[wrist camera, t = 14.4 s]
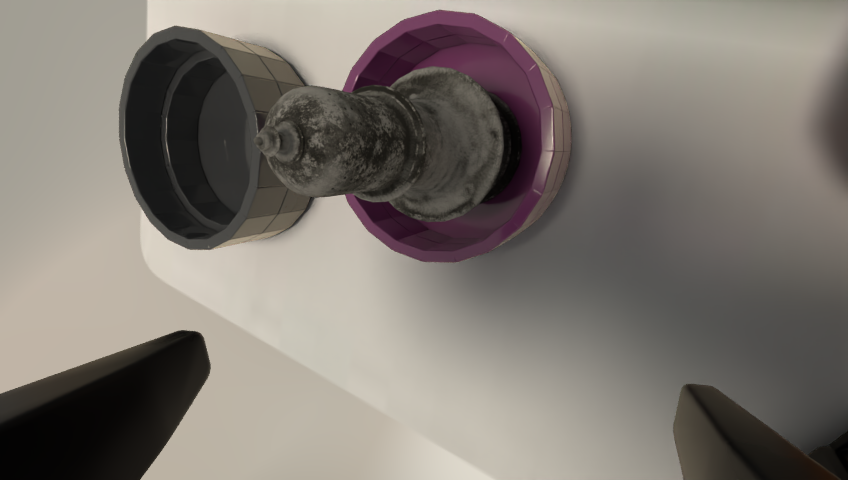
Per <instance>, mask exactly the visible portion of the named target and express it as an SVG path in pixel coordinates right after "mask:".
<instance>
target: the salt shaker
mask: <svg viewBox="0 0 848 480" xmlns="http://www.w3.org/2000/svg"><path fill="white" fill-rule="evenodd" d="M253 141H254V144H255V145H256V146H257V147H258V148H259V149H260V150H261V152H262V153H263V154H264V155H265V156H266V158H267V161H268V164H269V166H270V167H271V169H272V171H273V172H274V174H275V175H276V176H277V177H278V178H279V179H280V180H281V181H282V182H283V184H284V185H285V186H286V187H288V188H289V189H291V190H292V191H294V192H296V193H298V194H302V195H305V196H310V197H329V196H336V195H344V194H354V195H355V196H357V197H359V198H360V199H363V200H367V201H371V202H387V201H388V202H389V203H390V204H391V205H392V206H393V207H394V208H395V209H397V210H398V211H400V212H402V213H404V214H405V215H407V216H409V217H410V218H414V219H417V220H421V221H425V222H445V221H448V220H451V219H454V218H457V217H460V216H463V215H464V214H466V213H467V212H469V211H470V210H471V209H473V208H474V207H476V206H477V205H479V204H480V203H483V202H486V201H489V200H491V199H492V198H494V197H495V196H497V195H498V194H500V193H501V192H502V191H503V190H504V189H505V188H506V186H507V185H508V184H509V183H510V182H511V180H512V179H513V177H514V174H515V172H516V170H517V168H518V166H519V162H520V157H521V152H522V142H521V132H520V129H519V126H518V122H517V119H516V117H515V116H514V114H513V113H512V111H511V110H510V108H509V106H508V105H507V104H506V103H505V102H504V101H502V100H501V99H500V98H499V97H498V96H497V95H495V94H493V93H490V92H488V91H486V90H485V89H484V88H483V87H482V86H481V85H479V84H478V83H477V82H476V81H475V80H474V79H472V78H471V77H470V76H468V75H466V74H464V73H461V72H459V71H457V70H454V69H452V68H446V67H435V66H431V67H426V68H422V69H417V70H414V71H412V72H410V73H408V74H406V75H405V76H403V77H401V78H399V79H398V80H397V81H396V82H395V83H394V84H393V85H391V86H390V87H387V86H380V85H370V86H365V87H360V88H359V89H357V90H355V91H353V92H351V93H349V92H344V91H340V90H335V89H330V88H325V87H318V86H306V87H300V88H296V89H292V90H290V91H289V92H287V93H286V94H284V95H283V96H282V97H281V98H280V99H279V100H278V101H277V102H276V103H275V105H274V106H273V107H272V108H271V110H270V112H269V114H268V116H267V118H266V121H265V125H264V128H262V129H261V131H260V132H259V133H258V134H257V136H256V137H255V138H254V140H253Z"/></svg>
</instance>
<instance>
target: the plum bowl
mask: <svg viewBox="0 0 848 480" xmlns="http://www.w3.org/2000/svg"><path fill="white" fill-rule="evenodd" d="M431 66H435V67H446V68H452V69H454V70H457V71H459V72H461V73H464V74H466V75H468V76H470V77H471V78H472V79H474V80H475V81H476V82H477V83H478V84H479V85H481V86H482V87H483V88H484V89H485V90H486V91H488V92H490V93H493V94H495V95H497V96H498V97H499V98H500V99H501V100H502V101H504V102H505V103H506V104H507V105H508V106H509V108H510V110H511V111H512V113H513V114H514V116H515V117H516V119H517V122H518V126H519V129H520V132H521V142H522V152H521V157H520V162H519V166H518V168H517V170H516V172H515V174H514V177H513V179H512V180H511V182H510V183H509V184H508V185H507V186H506V188H505V189H504V190H503V191H502V192H501V193H500V194H498V195H497V196H495V197H494V198H492V199H491V200H489V201H486V202H483V203H480V204H479V205H477V206H476V207H474V208H473V209H471V210H470V211H469V212H467V213H466V214H464V215H463V216H460V217H457V218H454V219H451V220H448V221H445V222H425V221H421V220H417V219H414V218H410V217H409V216H407V215H405V214H404V213H402V212H400V211H398V210H397V209H395V208H394V207H393V206H392V205H391V204H390V203H389V202H388V201H387V202H371V201H367V200H363V199H360V198H359V197H357V196H355V195H354V194H345V196H346V198H347V201H348V203H349V205H350V207H351V208H352V209H353V211H354V212H355V214H356V215H357V216H358V218H359V219H360V221H361V222H362V224H363V225H364V226H365V228H366V229H367V230H368V231H369V232H370V233H371V234H373V235H374V236H375V237H376V238H378V239H379V240H380V241H382V242H383V243H384V244H385V245H387V246H388V247H389V248H390V249H392V250H393V251H396V252H398V253H401V254H404V255H406V256H409V257H412V258H414V259H417V260H420V261H424V262H447V263H456V262H460V261H463V260H467V259H470V258H473V257H476V256H479V255H482V254H485V253H488V252H490V251H492V250H494V249H495V248H497V247H499V246H501V245H502V244H504V243H506V242H508V241H509V240H511V239H513V238H514V237H516V236H517V235H518V234H520V233H521V232H522V231H524V230H525V229H526V228H528V227H529V226H530V225H532V224H533V223H534V222H535V221H537V220H538V219H539V218H540V217H541V216H542V214H543V213H544V212H545V210H546V209H547V208H548V206H549V205H550V204H551V203H552V201H553V199H554V198H555V196H556V194H557V193H558V191H559V189H560V187H561V184H562V182H563V179H564V177H565V174H566V171H567V167H568V163H569V159H570V152H571V132H572V130H571V122H570V114H569V110H568V107H567V103H566V99H565V97H564V95H563V92H562V90H561V88H560V85H559V84H558V81H557V79H556V77H555V76H554V75H553V74H552V72H551V71H550V70H549V69H548V68H547V66H546V65H545V64H544V63H543V62H542V61H541V60H540V58H539V57H538V56H537V55H536V54H535V53H534V52H533V51H532V50H531V49H530V48H529V47H527V46H526V45H525V44H524V43H523V42H521V41H520V40H519V39H518V38H516V37H515V36H514V35H513V34H512V33H510V32H509V31H507V30H505V29H503V28H502V27H500V26H498V25H496V24H494V23H492V22H490V21H489V20H487V19H485V18H483V17H481V16H479V15H476V14H474V13H465V12H455V11H446V10H439V11H438V10H436V11H433V12H429V13H425V14H422V15H418V16H414V17H411V18H407V19H404V20H402V21H400V22H399V23H398V24H396V25H395V26H393V27H392V28H390V29H389V30H388V31H386V32H385V33H383V34H382V35H380V36H379V37H378V38H376V39H375V40H374V41H373V42H372V43H371V44H370V45H369V47H368V48H367V49H366V51H365V52H364V53H363V54H362V56H361V57H360V58H359V60H358V61H357V62H356V64H355V65H354V66H353V67H352V70H351V71H350V73H349V76H348V78H347V81H346V83H345V86H344V88H343V90H342V91H344V92H349V93H351V92H353V91H355V90H357V89H359V88H360V87H365V86H370V85H380V86H387V87H390V86H391V85H393V84H394V83H395V82H396V81H397V80H398V79H399V78H401V77H403V76H405V75H406V74H408V73H410V72H412V71H414V70H417V69H422V68H426V67H431Z"/></svg>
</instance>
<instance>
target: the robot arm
mask: <svg viewBox="0 0 848 480" xmlns="http://www.w3.org/2000/svg"><path fill="white" fill-rule="evenodd" d="M210 369H211V367H210V360H209V356H208V352H207V349H206V345H205V341H204V337H203V336H202V335H201V333H199V332H196V331H186V330H181V331H176V332H174V333H171V334H168V335H165V336H162V337H160V338H157V339H154V340H151V341H148V342H146V343H143V344H140V345H137V346H134V347H131V348H128V349H126V350H123V351H120V352H117V353H115V354H112V355H109V356H106V357H103V358H100V359H98V360H95V361H92V362H89V363H86V364H83V365H80V366H78V367H75V368H72V369H69V370H66V371H64V372H61V373H58V374H55V375H52V376H49V377H47V378H44V379H41V380H38V381H36V382H32V383H30V384H27V385H24V386H21V387H18V388H15V389H13V390H10V391H7V392H5V393H2V394H0V480H140V479H141V478H142V476H143V475H144V473H145V472H146V471H147V470H148V468H149V467H150V466H151V464H152V463H153V462H154V460H155V459H156V458H157V456H158V455H159V454H160V452H161V451H162V449H163V448H164V446H165V445H166V444H167V442H168V441H169V439H170V437H171V436H172V435H173V433H174V431H175V430H176V428H177V426H178V425H179V423H180V422H181V420H182V419H183V417H184V415H185V414H186V412H187V410H188V409H189V407H190V406H191V404H192V402H193V401H194V399H195V398H196V396H197V394H198V393H199V391H200V389H201V388H202V386H203V385H204V383H205V381H206V380H207V378H208V376H209V374H210ZM674 439H675V443H676V448H677V452H678V456H679V461H680V465H681V470H682V474H683V478H684V480H848V432H846V433H845V434H844V435H842V436H841V437H840V438H838V439H837V440H836V441H834V442H833V443H832V444H830V445H829V446H824V447H818V448H817V449H816V450H814V451H813V452H812V453H810V454H809V455H806V454H805V453H804V452H802V451H801V450H800V449H798V448H797V447H796V446H794V445H793V444H791V443H790V442H789V441H787V440H786V439H785V438H783V437H782V436H780V435H779V434H778V433H776V432H775V431H774V430H772V429H771V428H770V427H768V426H767V425H765V424H764V423H763V422H761V421H760V420H759V419H757V418H756V417H754V416H753V415H752V414H750V413H749V412H748V411H746V410H745V409H744V408H742V407H741V406H739V405H738V404H737V403H735V402H734V401H733V400H731V399H730V398H728V397H727V396H726V395H724V394H723V393H722V392H720V391H719V390H718V389H716V388H714V387H712V386H707V385H697V384H686V385H684V386H683V387H682V389H681V392H680V397H679V401H678V406H677V410H676V415H675V420H674Z"/></svg>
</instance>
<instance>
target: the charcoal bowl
mask: <svg viewBox="0 0 848 480" xmlns="http://www.w3.org/2000/svg"><path fill="white" fill-rule="evenodd" d="M300 87H305V86H304V84H303V83H302V81H301V80H300V79H299V77H298V76H297V75H296V73H295V72H294V71H293V69H292V68H291V66H290V65H289V64H288V63H287V62H286V61H284V60H283V59H282V58H280V57H279V56H277V55H276V54H274V53H273V52H271V51H270V50H268V49H267V48H265V47H261V46H257V45H254V44H250V43H246V42H243V41H239V40H235V39H232V38H228V37H224V36H221V35H217V34H213V33H210V32H206V31H202V30H199V29H193V28H187V27H181V26H173V27H170V28H168V29H165V30H162V31H160V32H157V33H154V34H153V35H152V36H151V37H150V38H149V39H148V40H147V41H146V42H145V43H144V44H143V45H142V46H141V48H140V49H139V50H138V51H137V53H136V54H135V56H134V58H133V61H132V63H131V65H130V67H129V69H128V71H127V74H126V76H125V79H124V84H123V89H122V94H121V100H120V105H119V106H120V107H119V138H120V139H119V140H120V146H121V151H122V157H123V163H124V168H125V171H126V174H127V177H128V179H129V182H130V185H131V187H132V190H133V193H134V196H135V197H136V200H137V201H138V203H139V205H140V206H141V208H142V210H143V211H144V213H145V214H146V216H147V218H148V219H149V221H150V222H151V223H152V224H153V225H154V226H155V227H156V228H157V229H158V230H159V231H160V232H161V233H162V234H163V235H164V236H165V237H166V238H167V239H169V240H170V241H172V242H174V243H176V244H178V245H180V246H183V247H185V248H187V249H190V250H212V249H216V248H221V247H226V246H231V245H235V244H240V243H245V242H250V241H254V240H259V239H264V238H269V237H271V236H273V235H276V234H278V233H280V232H282V231H284V230H286V229H288V228H290V227H291V226H292V224H293V223H294V222H295V221H296V220H297V219H298V218H299V216H300V215H301V214H302V213H303V212H304V211H305V209H306V207H307V205H308V202H309V200H310V198H311V197H310V196H305V195H302V194H298V193H296V192H294V191H292V190H291V189H289V188H288V187H286V186H285V185H284V184H283V182H282V181H281V180H280V179H279V178H278V177H277V176H276V175H275V174H274V172H273V171H272V169H271V167H270V166H269V164H268V161H267V158H266V156H265V155H264V154H263V153H262V152H261V150H260V149H259V148H258V147H257V146H256V145H255V144H254V141H253V140H254V138H255V137H256V136H257V134H258V133H259V132H260V131H261V129H262V128H264V125H265V121H266V118H267V116H268V114H269V112H270V110H271V108H272V107H273V106H274V105H275V103H276V102H277V101H278V100H279V99H280V98H281V97H282V96H283V95H284V94H286V93H287V92H289V91H290V90H292V89H296V88H300Z"/></svg>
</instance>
